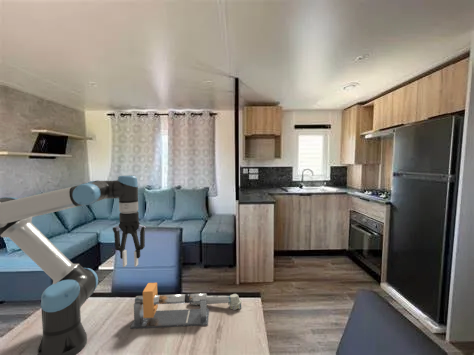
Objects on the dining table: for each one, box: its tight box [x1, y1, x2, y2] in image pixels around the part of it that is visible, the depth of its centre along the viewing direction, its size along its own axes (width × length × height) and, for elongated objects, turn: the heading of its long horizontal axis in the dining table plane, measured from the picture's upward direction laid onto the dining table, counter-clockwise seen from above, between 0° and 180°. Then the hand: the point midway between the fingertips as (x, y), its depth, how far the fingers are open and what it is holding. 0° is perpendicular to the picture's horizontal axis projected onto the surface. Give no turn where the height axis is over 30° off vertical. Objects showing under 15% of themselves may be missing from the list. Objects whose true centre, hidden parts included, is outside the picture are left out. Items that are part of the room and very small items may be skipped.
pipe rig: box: [129, 292, 210, 330], centre depth 111 cm, size 32×11×11 cm, turn 93°
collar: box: [142, 282, 159, 318], centre depth 111 cm, size 4×8×11 cm, turn 3°
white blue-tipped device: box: [188, 293, 243, 311], centre depth 122 cm, size 5×7×25 cm
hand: (130, 265), depth 109 cm, fingers open, 4 cm apart
